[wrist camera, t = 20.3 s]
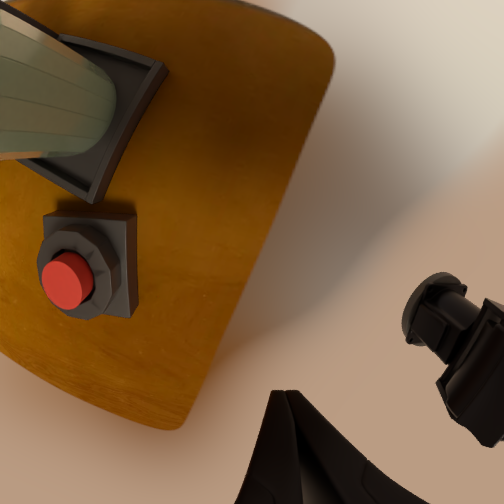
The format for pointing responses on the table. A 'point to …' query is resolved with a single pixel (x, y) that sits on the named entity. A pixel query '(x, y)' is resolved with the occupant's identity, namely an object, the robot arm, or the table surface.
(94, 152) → the coffee maker
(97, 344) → the table surface
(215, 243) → the table surface
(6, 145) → the cup
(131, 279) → the button block
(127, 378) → the table surface
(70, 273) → the button
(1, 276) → the table surface
